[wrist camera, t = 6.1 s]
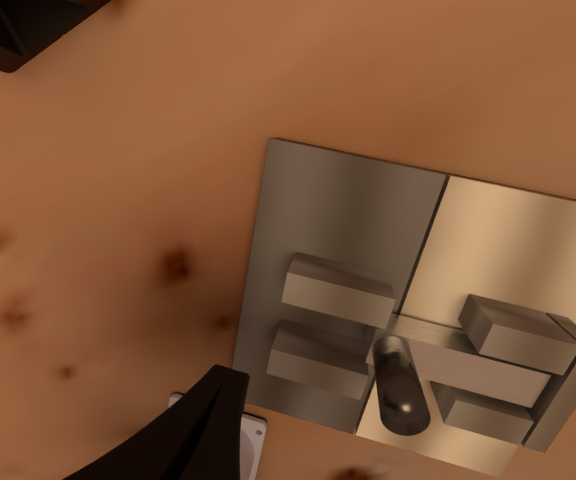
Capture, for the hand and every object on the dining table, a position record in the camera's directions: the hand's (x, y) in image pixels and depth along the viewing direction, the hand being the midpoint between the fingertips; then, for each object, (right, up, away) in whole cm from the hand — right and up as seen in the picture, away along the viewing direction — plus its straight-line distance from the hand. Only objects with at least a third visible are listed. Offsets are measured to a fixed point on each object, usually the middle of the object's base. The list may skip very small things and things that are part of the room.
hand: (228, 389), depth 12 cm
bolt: (+10, 0, +5) cm, 12 cm away
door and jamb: (+9, +1, +8) cm, 12 cm away
